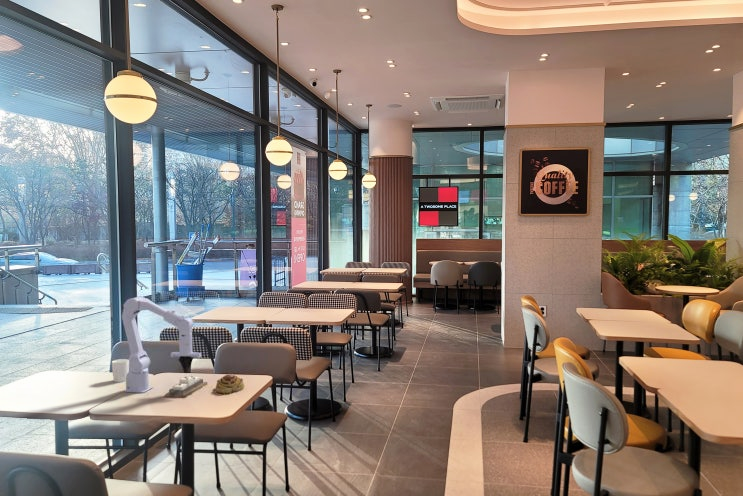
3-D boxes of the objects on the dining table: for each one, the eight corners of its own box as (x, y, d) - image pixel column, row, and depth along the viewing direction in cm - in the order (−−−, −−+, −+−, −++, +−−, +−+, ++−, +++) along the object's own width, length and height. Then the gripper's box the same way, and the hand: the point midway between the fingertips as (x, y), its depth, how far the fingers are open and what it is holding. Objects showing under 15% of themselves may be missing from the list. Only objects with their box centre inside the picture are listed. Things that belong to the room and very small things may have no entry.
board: (164, 396, 240) (164, 390, 240) (188, 383, 261) (188, 377, 261) (185, 397, 238) (184, 391, 238) (207, 384, 259) (207, 378, 259)
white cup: (125, 382, 263) (124, 362, 263) (109, 382, 264) (108, 362, 263) (132, 378, 271) (131, 358, 271) (117, 378, 271) (116, 359, 271)
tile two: (179, 386, 247) (179, 378, 247) (184, 383, 252) (184, 376, 252) (188, 386, 247) (188, 379, 247) (193, 383, 251) (193, 376, 251)
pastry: (214, 395, 242) (214, 378, 241) (215, 386, 256) (215, 369, 256) (244, 393, 245) (244, 375, 245) (244, 384, 260) (243, 367, 259)
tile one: (172, 392, 242) (172, 385, 241) (178, 389, 246) (177, 382, 246) (182, 393, 241) (181, 385, 241) (187, 390, 245) (187, 383, 245)
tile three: (186, 385, 253) (186, 378, 253) (191, 382, 258) (191, 375, 258) (195, 385, 253) (195, 378, 253) (199, 382, 257) (199, 376, 257)
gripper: (204, 342, 251) (204, 370, 252) (176, 341, 254) (176, 369, 254) (196, 345, 244) (197, 374, 245) (168, 344, 247) (168, 373, 247)
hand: (186, 372), depth 249 cm, fingers closed
